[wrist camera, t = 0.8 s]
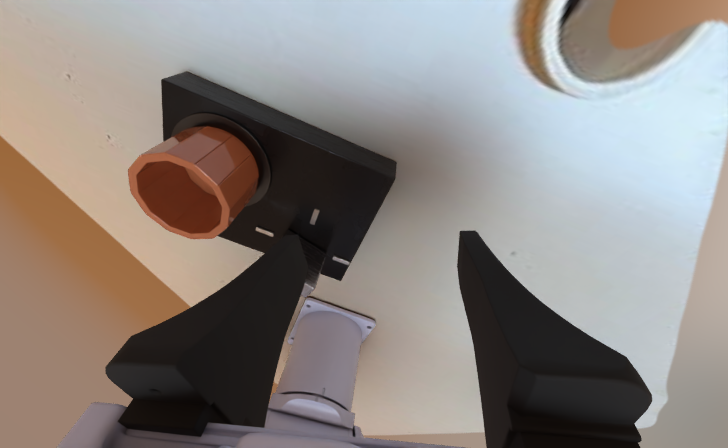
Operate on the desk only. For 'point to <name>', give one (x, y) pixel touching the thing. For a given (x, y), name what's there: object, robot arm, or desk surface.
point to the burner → (241, 134)
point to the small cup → (195, 181)
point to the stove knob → (310, 263)
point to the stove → (293, 174)
